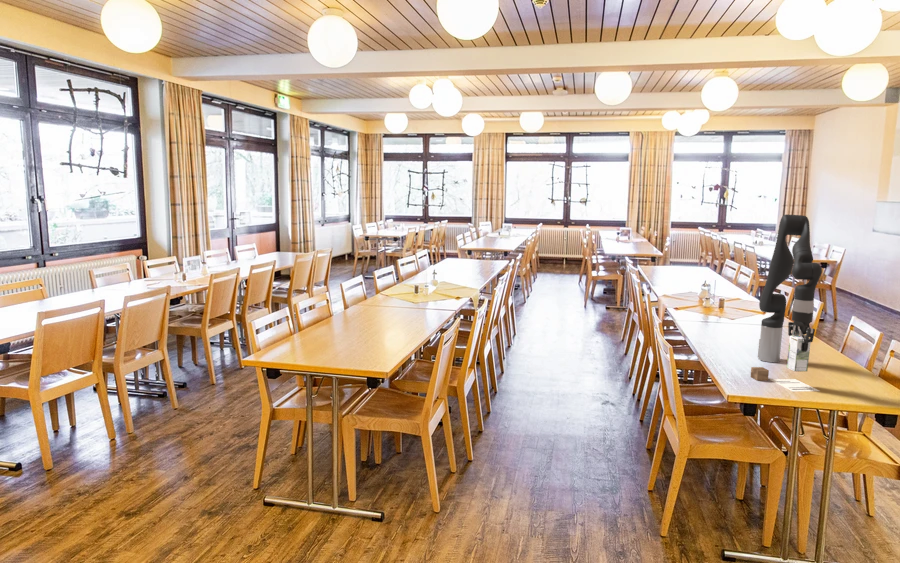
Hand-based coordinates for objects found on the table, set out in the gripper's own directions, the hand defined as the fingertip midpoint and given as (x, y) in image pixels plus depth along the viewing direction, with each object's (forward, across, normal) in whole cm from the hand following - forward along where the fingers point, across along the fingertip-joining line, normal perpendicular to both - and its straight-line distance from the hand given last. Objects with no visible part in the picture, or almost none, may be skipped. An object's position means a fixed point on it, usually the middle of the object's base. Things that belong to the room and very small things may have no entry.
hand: (799, 349), depth 247 cm
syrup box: (+9, 0, 0) cm, 9 cm away
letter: (+16, -1, 0) cm, 16 cm away
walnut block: (+17, -10, -10) cm, 22 cm away
